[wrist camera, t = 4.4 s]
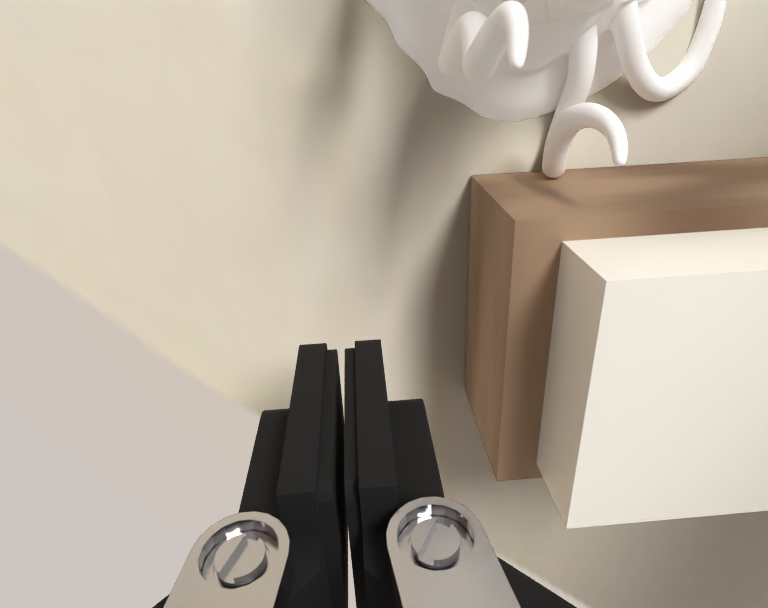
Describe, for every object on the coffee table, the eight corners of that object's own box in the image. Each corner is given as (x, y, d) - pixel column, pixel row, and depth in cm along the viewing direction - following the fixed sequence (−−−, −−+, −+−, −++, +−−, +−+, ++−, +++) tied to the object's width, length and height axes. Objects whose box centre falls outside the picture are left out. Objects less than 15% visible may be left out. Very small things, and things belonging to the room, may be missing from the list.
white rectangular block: (799, 225, 11) (890, 261, 9) (726, 447, 13) (784, 508, 12) (561, 241, 10) (606, 281, 9) (536, 463, 13) (566, 528, 11)
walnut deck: (795, 155, 14) (947, 192, 11) (730, 368, 17) (830, 452, 14) (471, 175, 14) (515, 220, 10) (464, 389, 17) (496, 481, 13)
